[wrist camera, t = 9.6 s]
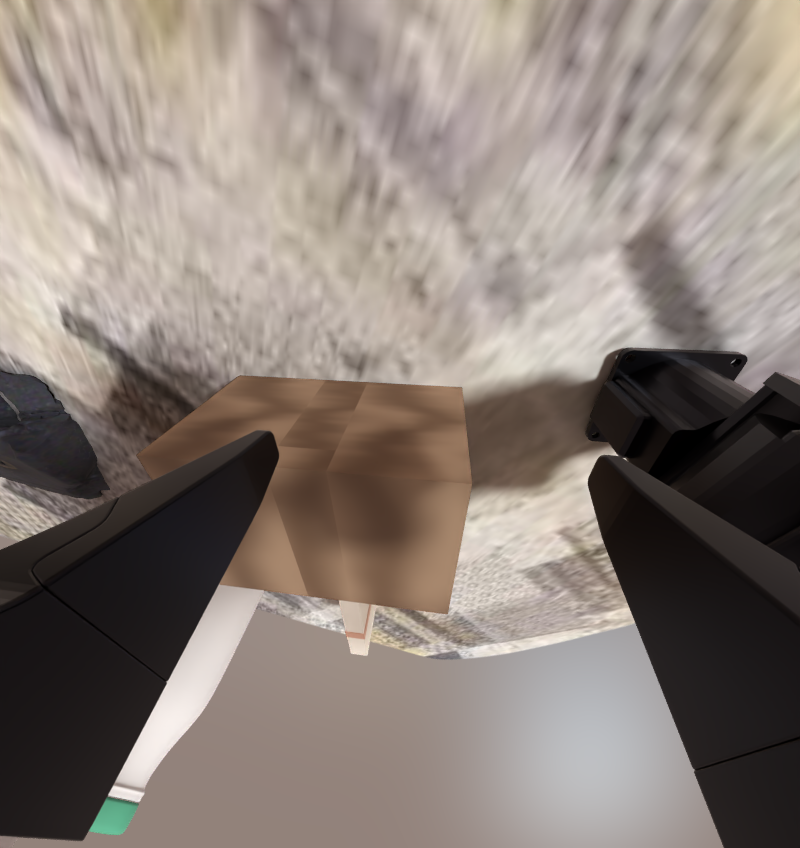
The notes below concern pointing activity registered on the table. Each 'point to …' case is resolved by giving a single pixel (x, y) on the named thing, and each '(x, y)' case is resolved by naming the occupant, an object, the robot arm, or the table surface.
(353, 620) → the white banded bar
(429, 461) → the brown cardboard box
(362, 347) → the table surface
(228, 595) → the milk bottle
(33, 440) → the black holed wedge
